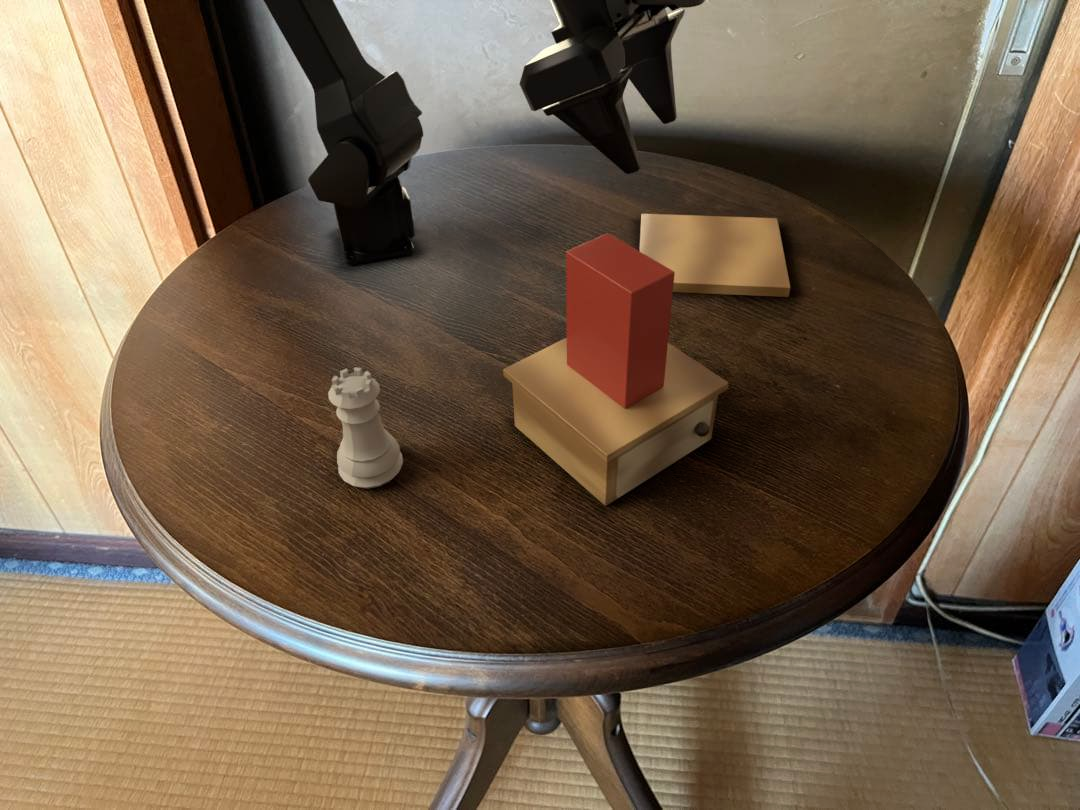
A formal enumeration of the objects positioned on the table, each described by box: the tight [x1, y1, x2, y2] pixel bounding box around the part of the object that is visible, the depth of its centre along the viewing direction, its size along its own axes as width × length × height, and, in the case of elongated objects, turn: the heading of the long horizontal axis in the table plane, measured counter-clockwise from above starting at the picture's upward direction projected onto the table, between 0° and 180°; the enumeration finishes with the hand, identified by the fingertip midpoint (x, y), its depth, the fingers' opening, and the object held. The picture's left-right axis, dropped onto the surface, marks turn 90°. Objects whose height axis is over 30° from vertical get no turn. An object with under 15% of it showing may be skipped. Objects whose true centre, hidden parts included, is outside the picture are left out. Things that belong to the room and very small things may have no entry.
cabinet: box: [502, 337, 730, 507], centre depth 58 cm, size 11×12×5 cm
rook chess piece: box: [327, 367, 404, 490], centre depth 55 cm, size 4×4×8 cm
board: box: [638, 213, 791, 298], centre depth 77 cm, size 13×12×1 cm
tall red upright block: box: [565, 232, 675, 409], centre depth 53 cm, size 4×6×9 cm, turn 38°
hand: (653, 145), depth 63 cm, fingers open, 9 cm apart
